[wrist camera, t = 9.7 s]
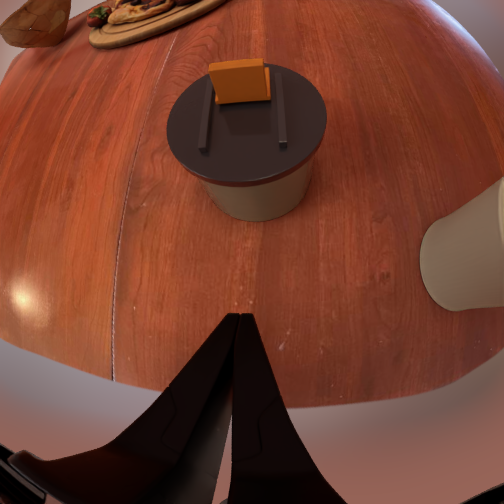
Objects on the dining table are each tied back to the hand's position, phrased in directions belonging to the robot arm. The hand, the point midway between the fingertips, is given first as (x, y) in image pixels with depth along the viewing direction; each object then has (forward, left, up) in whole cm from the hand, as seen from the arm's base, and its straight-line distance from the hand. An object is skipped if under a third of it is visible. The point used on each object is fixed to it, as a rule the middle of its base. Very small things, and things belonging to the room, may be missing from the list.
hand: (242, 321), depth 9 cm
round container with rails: (+10, +8, -14) cm, 19 cm away
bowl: (+20, +82, -14) cm, 86 cm away
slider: (+12, +9, -4) cm, 15 cm away
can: (+14, -13, -14) cm, 23 cm away
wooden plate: (+34, +50, -14) cm, 62 cm away
